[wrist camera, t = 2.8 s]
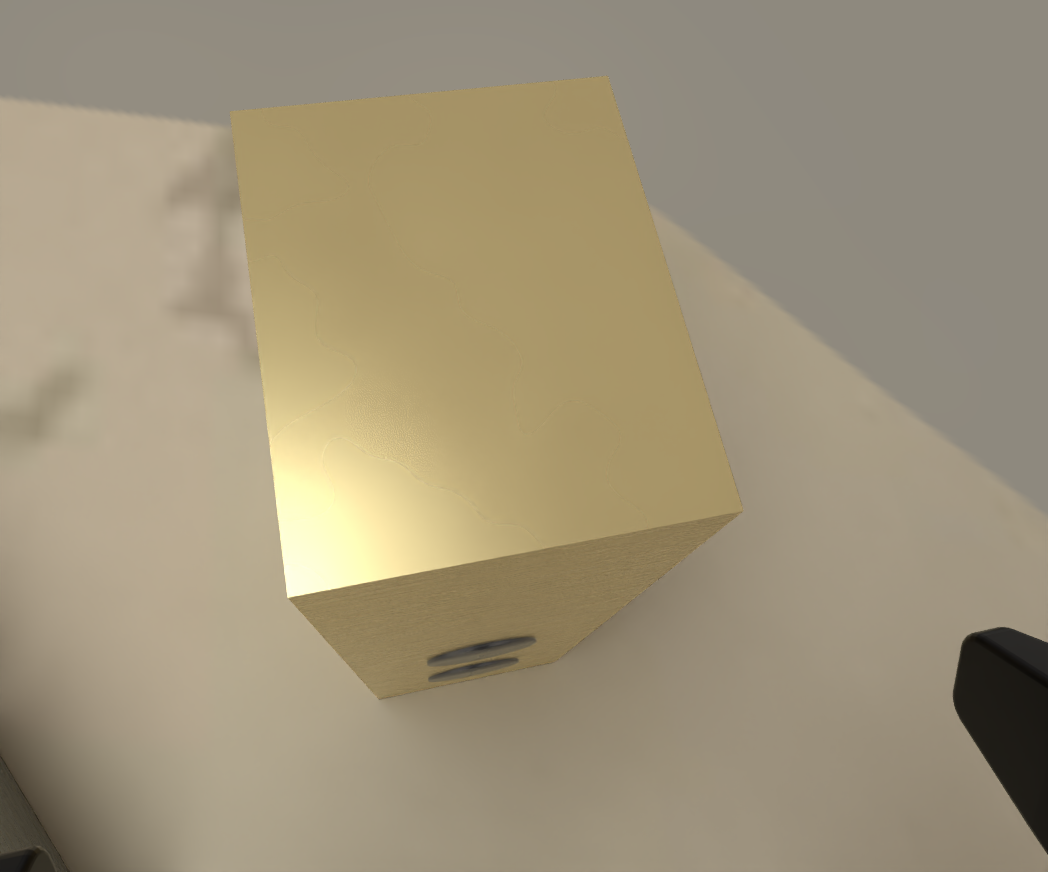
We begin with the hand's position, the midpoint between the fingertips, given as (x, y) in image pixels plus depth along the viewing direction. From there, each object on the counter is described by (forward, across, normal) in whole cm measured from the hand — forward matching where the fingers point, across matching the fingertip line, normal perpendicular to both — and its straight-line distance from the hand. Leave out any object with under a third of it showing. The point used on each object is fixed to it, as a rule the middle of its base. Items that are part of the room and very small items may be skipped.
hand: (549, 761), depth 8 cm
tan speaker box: (+11, 0, +5) cm, 12 cm away
